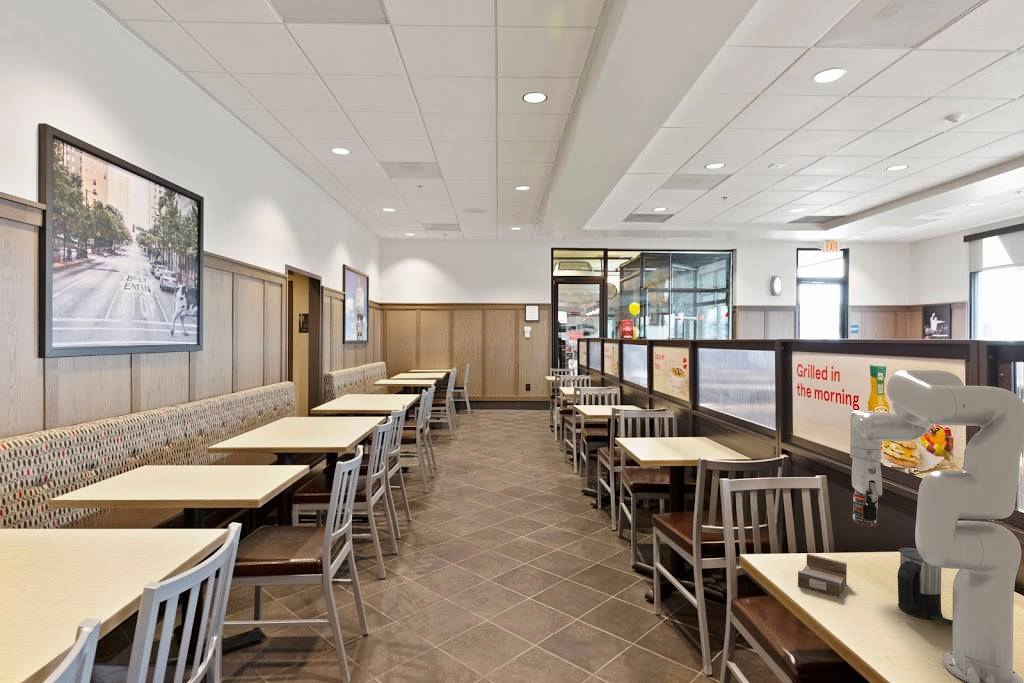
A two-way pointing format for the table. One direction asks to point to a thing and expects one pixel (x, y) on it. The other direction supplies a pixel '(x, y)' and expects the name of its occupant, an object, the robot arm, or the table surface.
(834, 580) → the shelf
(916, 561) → the milk frother
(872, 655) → the table surface
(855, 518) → the supplement bottle
